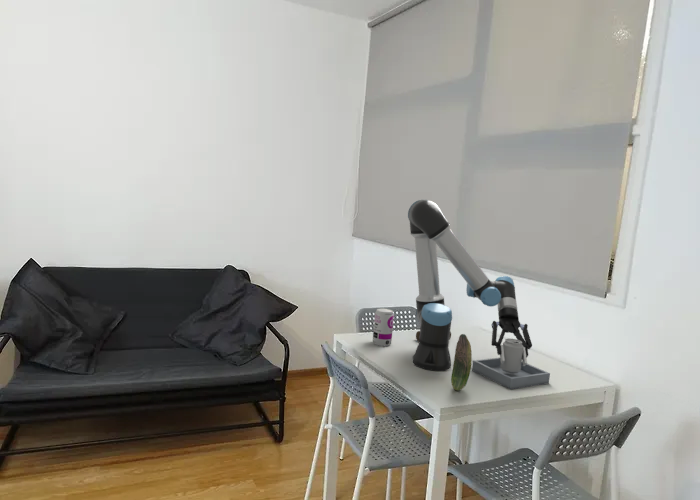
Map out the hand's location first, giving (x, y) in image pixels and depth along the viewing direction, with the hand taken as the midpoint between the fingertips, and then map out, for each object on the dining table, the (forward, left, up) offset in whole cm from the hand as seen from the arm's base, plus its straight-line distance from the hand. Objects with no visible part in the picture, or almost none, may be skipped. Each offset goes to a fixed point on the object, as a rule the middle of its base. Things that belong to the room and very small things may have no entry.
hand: (513, 363), depth 194 cm
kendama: (+4, +52, -7) cm, 52 cm away
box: (+2, +3, -6) cm, 7 cm away
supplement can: (-25, +52, -7) cm, 58 cm away
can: (+2, +3, -4) cm, 6 cm away
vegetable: (-27, -2, -7) cm, 28 cm away
